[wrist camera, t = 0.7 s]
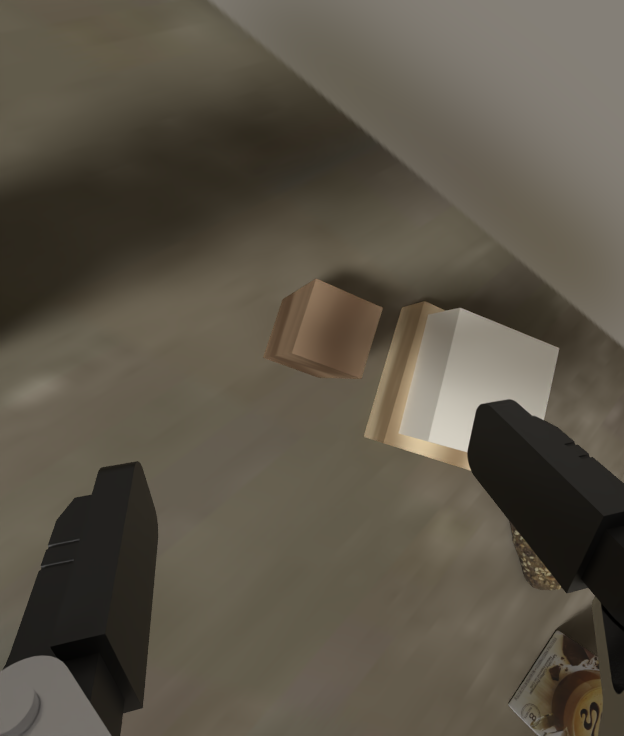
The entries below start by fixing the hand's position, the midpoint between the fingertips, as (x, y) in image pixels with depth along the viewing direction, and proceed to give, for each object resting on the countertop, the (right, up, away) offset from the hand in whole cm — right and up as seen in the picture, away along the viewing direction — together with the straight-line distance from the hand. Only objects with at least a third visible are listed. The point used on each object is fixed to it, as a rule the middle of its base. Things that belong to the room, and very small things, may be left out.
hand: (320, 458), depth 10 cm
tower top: (+13, 0, +26) cm, 29 cm away
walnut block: (-1, +5, +25) cm, 25 cm away
